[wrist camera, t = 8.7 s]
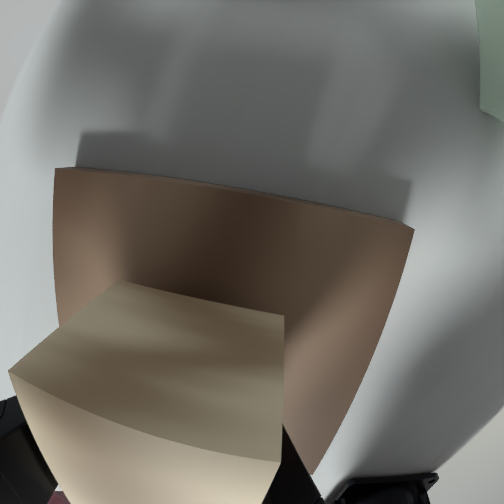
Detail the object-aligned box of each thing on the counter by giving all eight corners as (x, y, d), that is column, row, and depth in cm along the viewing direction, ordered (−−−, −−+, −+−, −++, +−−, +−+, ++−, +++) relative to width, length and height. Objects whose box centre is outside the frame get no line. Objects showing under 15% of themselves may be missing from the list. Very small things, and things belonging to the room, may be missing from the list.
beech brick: (284, 315, 9) (281, 462, 4) (249, 446, 10) (232, 557, 6) (119, 279, 9) (8, 370, 4) (126, 415, 11) (73, 507, 6)
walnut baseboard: (401, 221, 10) (414, 229, 9) (311, 457, 13) (312, 474, 12) (74, 166, 10) (55, 168, 9) (88, 403, 14) (77, 416, 12)
